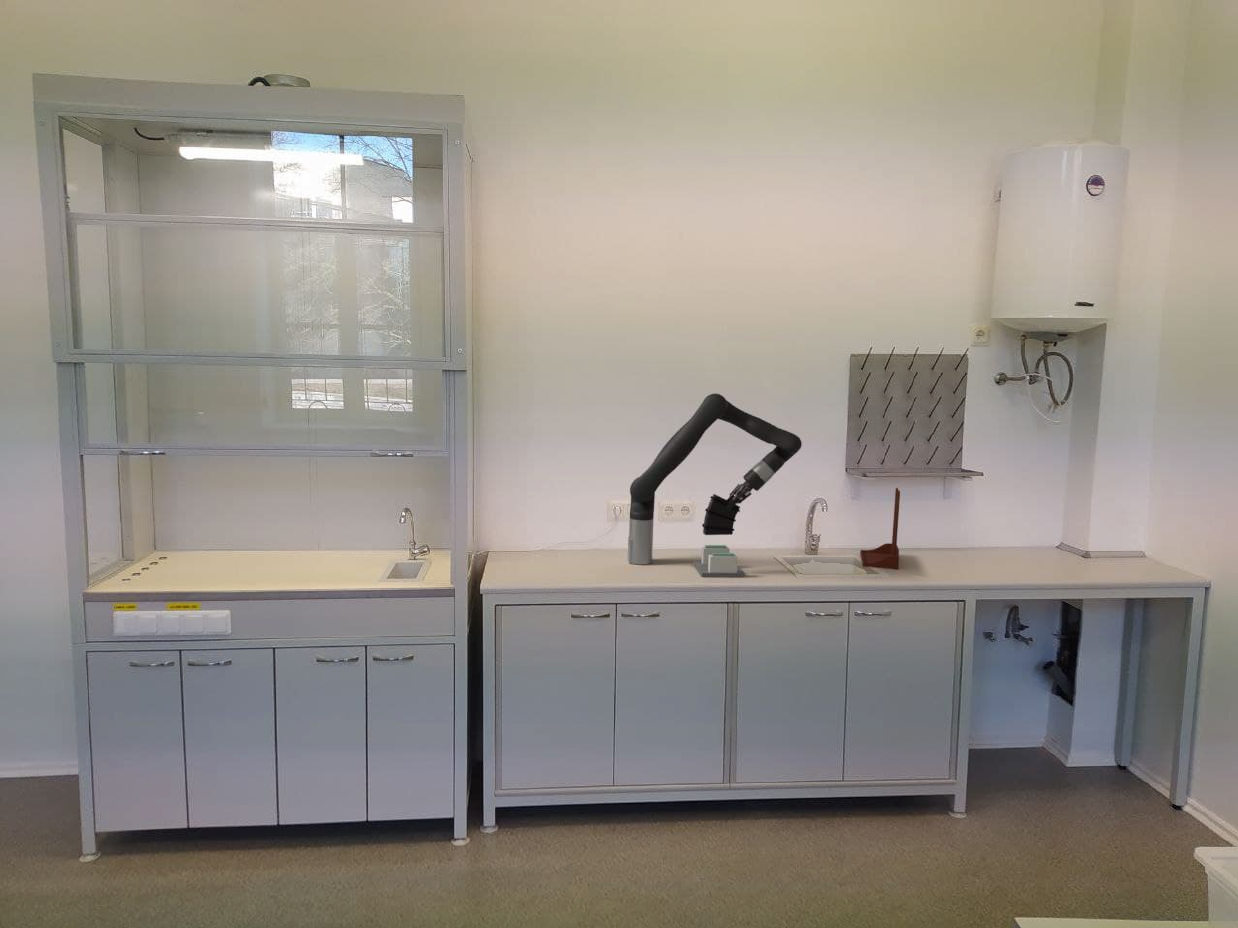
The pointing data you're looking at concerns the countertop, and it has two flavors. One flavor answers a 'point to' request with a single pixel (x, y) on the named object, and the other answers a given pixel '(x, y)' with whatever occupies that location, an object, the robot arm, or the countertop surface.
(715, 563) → the mounting plate
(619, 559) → the countertop surface
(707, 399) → the robot arm
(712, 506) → the magazine
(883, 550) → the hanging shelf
